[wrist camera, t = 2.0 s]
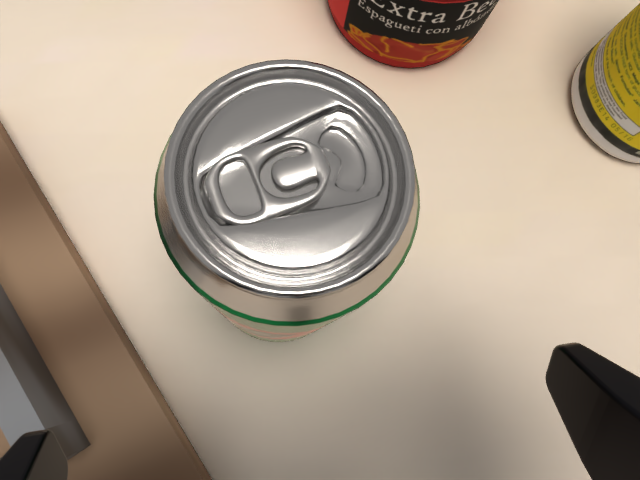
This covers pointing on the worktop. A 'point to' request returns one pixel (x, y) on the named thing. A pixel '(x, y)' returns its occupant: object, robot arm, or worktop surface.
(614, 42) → the pill bottle
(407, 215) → the soda can
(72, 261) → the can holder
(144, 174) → the worktop surface
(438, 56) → the canned food
